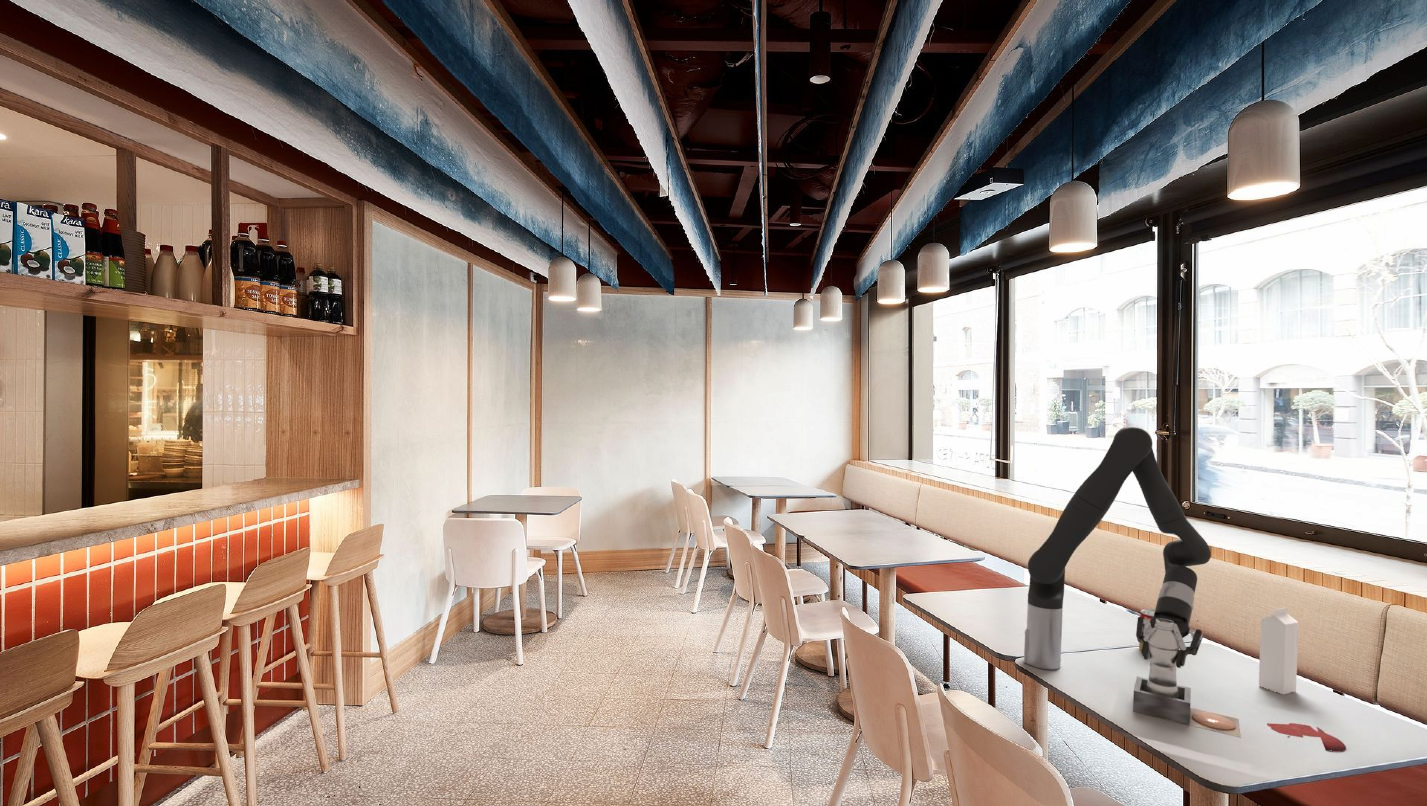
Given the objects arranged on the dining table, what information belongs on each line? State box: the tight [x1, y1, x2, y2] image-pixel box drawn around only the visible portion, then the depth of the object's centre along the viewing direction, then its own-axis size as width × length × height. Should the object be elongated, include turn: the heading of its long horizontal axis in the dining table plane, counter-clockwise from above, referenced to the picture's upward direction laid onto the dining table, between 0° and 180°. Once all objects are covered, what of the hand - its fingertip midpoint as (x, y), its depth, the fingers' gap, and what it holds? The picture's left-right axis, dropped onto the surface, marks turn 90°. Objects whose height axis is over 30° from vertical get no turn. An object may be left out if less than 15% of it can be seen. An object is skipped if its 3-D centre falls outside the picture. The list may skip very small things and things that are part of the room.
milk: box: [1258, 607, 1300, 696], centre depth 192 cm, size 6×6×22 cm
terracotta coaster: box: [1192, 712, 1236, 730], centre depth 166 cm, size 8×8×1 cm
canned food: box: [1138, 608, 1155, 655], centre depth 219 cm, size 8×8×12 cm
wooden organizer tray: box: [1132, 676, 1242, 739], centre depth 170 cm, size 21×12×6 cm, turn 56°
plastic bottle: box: [1146, 619, 1180, 699], centre depth 172 cm, size 6×7×20 cm
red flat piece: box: [1266, 722, 1347, 752], centre depth 163 cm, size 18×14×2 cm
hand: (1161, 661), depth 171 cm, fingers closed on plastic bottle, 6 cm apart
